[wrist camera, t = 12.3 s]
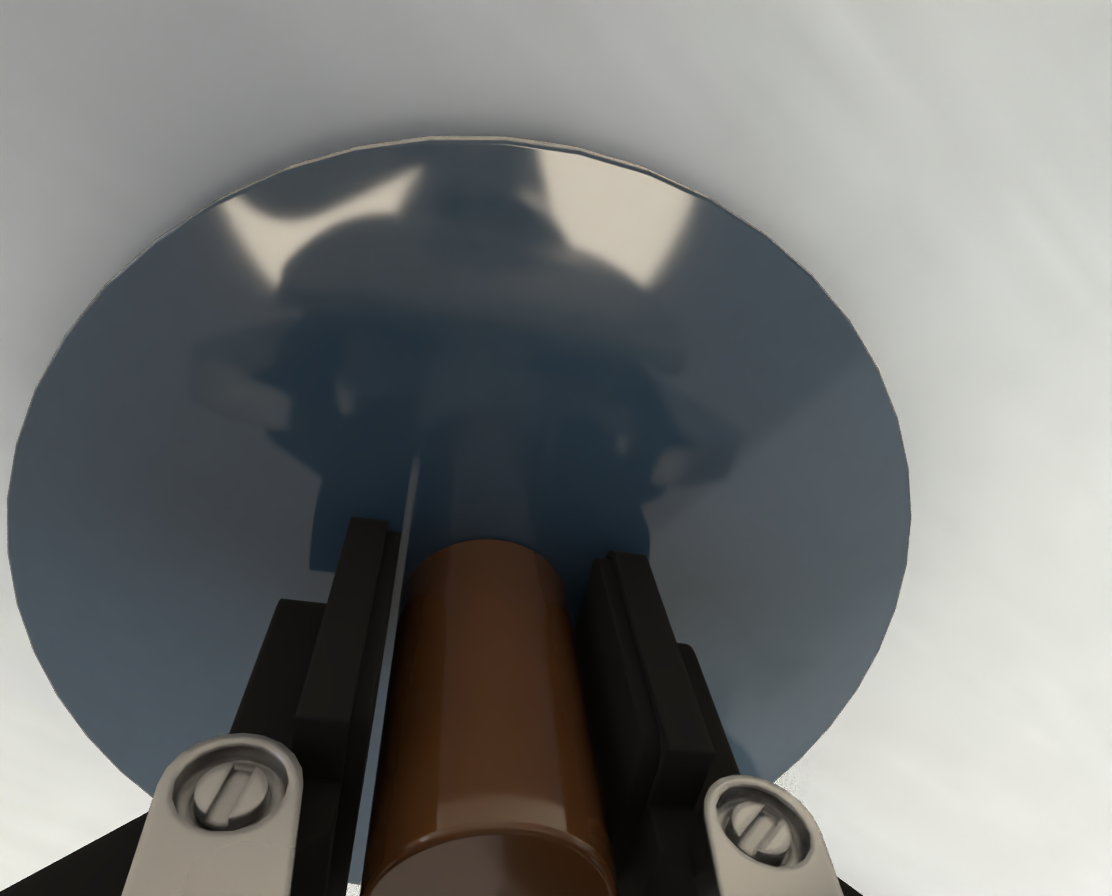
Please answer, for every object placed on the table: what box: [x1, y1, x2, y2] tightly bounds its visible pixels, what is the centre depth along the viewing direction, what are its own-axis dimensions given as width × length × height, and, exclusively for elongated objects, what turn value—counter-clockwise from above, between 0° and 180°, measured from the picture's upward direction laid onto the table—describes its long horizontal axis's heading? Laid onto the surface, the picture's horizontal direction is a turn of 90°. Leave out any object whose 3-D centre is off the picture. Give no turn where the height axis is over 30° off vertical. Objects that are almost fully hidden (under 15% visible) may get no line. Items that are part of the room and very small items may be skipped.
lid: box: [7, 136, 911, 896], centre depth 11 cm, size 14×14×6 cm
